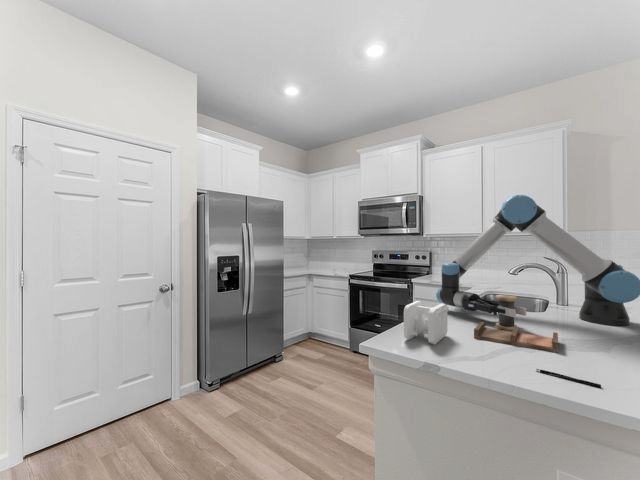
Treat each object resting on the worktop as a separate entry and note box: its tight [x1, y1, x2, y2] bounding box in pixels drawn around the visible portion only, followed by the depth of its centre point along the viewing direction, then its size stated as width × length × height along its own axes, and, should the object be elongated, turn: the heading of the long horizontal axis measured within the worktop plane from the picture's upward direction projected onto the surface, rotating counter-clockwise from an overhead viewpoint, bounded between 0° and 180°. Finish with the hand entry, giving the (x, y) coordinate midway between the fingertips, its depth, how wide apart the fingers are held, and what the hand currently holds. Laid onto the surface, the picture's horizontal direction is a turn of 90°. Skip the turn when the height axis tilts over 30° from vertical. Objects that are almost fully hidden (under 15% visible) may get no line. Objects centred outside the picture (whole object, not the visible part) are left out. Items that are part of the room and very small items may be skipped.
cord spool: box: [495, 294, 519, 332], centre depth 115 cm, size 7×7×12 cm
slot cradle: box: [473, 321, 559, 354], centre depth 102 cm, size 23×12×3 cm, turn 52°
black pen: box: [535, 368, 602, 389], centre depth 74 cm, size 12×1×1 cm, turn 43°
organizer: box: [403, 300, 450, 345], centre depth 104 cm, size 15×11×12 cm
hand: (520, 312), depth 111 cm, fingers closed on cord spool, 5 cm apart
